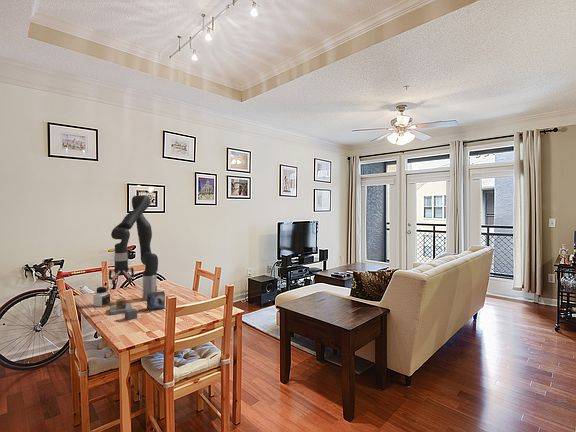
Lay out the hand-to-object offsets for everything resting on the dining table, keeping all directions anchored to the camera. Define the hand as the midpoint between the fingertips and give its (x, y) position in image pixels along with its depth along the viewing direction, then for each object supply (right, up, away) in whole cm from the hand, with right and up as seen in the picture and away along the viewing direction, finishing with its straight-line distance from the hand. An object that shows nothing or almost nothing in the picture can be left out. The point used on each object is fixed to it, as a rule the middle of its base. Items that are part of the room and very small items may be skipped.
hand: (121, 284), depth 202 cm
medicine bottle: (-20, -16, +12) cm, 28 cm away
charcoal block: (+12, -18, -13) cm, 25 cm away
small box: (+19, -17, +6) cm, 27 cm away
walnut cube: (-1, -15, 0) cm, 15 cm away
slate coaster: (-1, -17, +1) cm, 17 cm away
